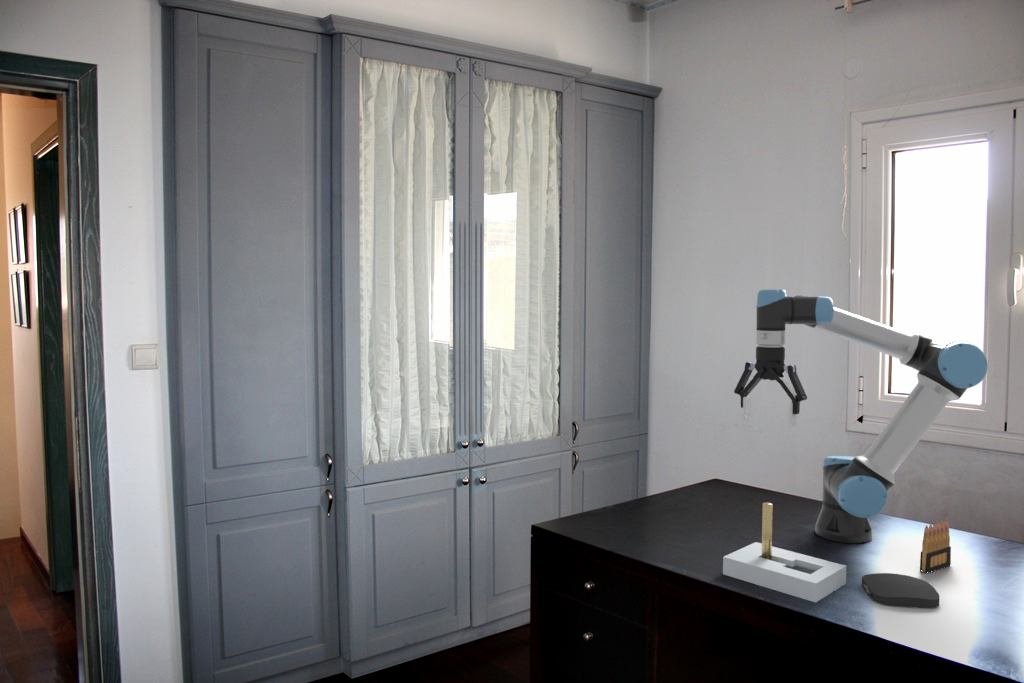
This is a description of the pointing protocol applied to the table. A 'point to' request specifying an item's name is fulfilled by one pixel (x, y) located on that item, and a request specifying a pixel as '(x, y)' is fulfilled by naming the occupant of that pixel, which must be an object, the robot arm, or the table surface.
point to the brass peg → (767, 530)
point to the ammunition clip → (935, 547)
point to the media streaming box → (900, 590)
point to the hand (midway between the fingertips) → (768, 422)
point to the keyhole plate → (786, 572)
